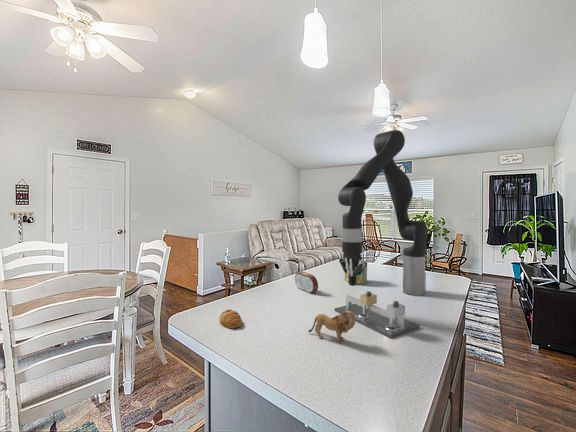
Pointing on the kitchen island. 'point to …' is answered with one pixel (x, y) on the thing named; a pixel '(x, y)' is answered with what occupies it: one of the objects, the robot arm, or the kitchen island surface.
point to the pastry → (230, 319)
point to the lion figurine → (335, 324)
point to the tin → (306, 282)
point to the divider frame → (384, 311)
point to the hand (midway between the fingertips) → (352, 285)
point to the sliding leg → (367, 300)
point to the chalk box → (360, 276)
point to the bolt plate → (377, 321)
